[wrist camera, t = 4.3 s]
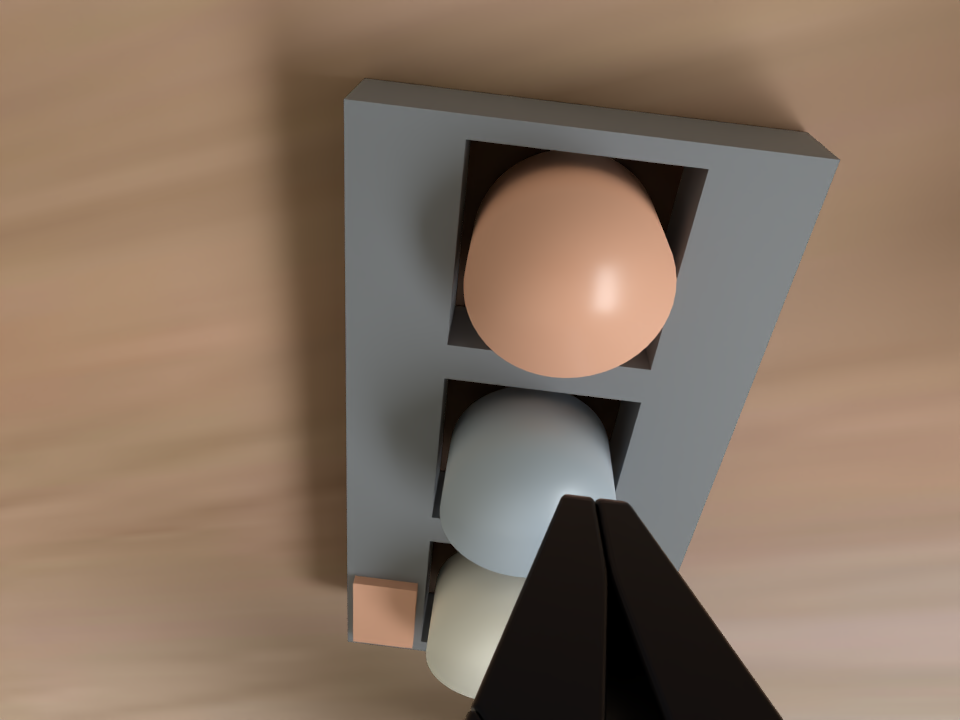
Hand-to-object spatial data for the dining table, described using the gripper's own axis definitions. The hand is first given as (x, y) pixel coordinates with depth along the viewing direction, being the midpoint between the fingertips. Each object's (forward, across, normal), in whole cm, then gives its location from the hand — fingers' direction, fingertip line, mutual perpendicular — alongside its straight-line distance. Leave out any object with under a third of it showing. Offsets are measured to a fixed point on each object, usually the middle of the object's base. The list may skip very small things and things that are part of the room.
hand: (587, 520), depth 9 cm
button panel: (+10, 0, +6) cm, 12 cm away
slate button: (+8, 0, +6) cm, 11 cm away
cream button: (+9, 0, +12) cm, 15 cm away
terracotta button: (+9, 0, 0) cm, 9 cm away
